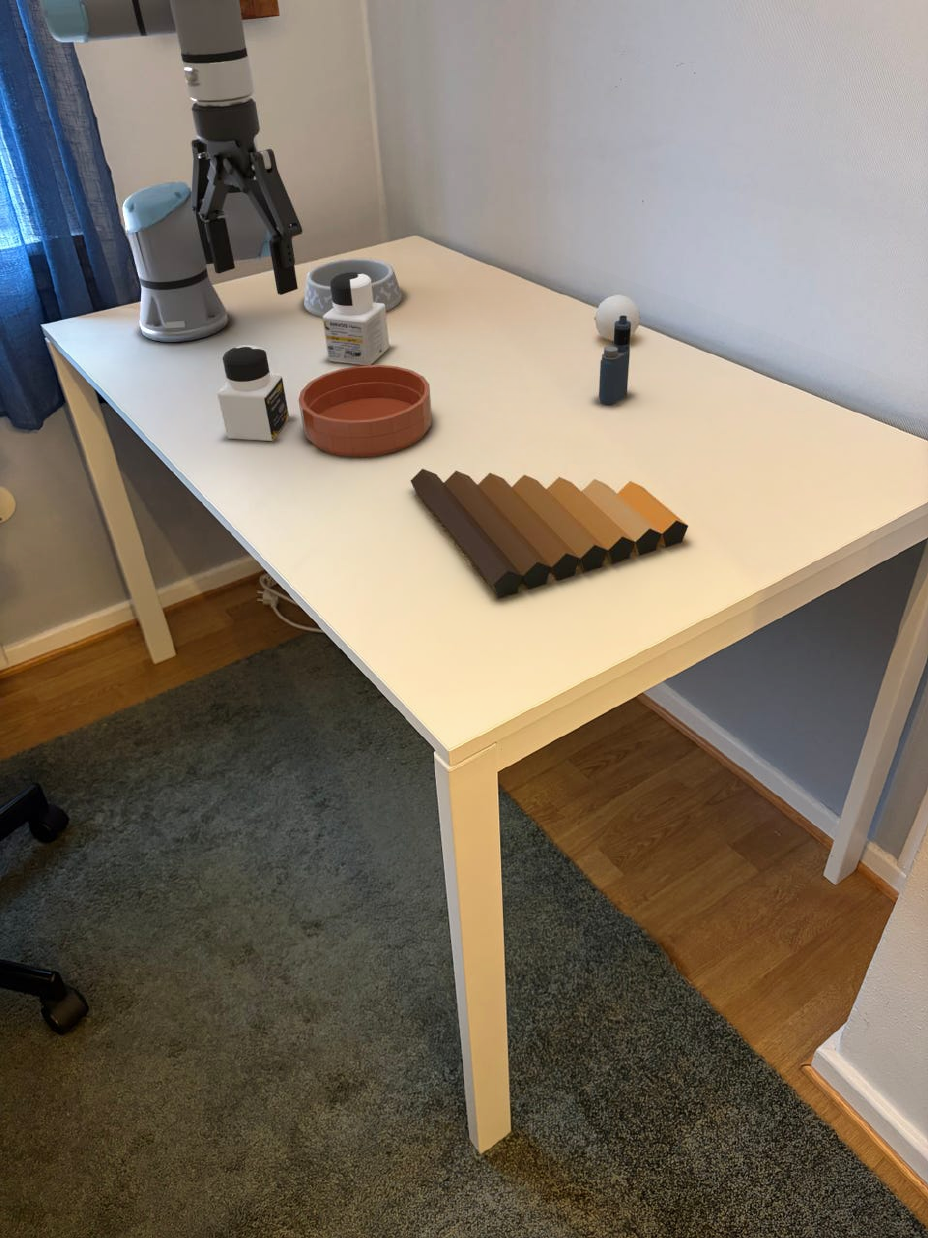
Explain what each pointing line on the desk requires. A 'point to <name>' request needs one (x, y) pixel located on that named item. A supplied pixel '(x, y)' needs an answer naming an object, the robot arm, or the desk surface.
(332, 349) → the container
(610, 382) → the vaping device
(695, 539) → the desk surface
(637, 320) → the white egg
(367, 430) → the bowl
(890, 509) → the desk surface
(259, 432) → the medicine bottle
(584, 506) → the pan flute
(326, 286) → the dog bowl
